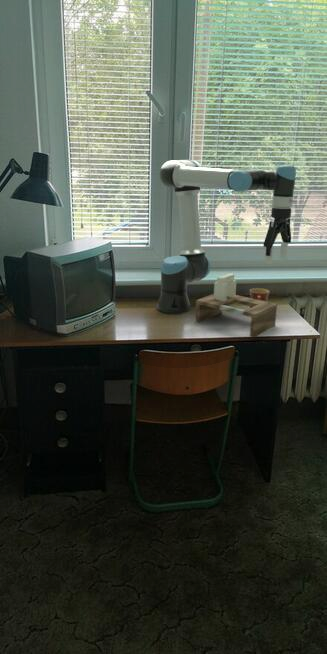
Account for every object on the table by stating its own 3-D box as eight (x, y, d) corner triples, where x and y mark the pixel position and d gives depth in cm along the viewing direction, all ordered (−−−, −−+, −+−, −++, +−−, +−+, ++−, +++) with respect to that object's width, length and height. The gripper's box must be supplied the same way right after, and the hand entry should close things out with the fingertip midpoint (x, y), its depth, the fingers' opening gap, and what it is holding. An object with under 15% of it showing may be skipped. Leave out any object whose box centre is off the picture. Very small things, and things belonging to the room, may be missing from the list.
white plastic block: (213, 299, 206) (214, 276, 203) (225, 294, 213) (226, 272, 210) (223, 301, 203) (225, 278, 200) (235, 296, 210) (236, 274, 207)
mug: (248, 309, 225) (250, 287, 221) (267, 310, 223) (269, 288, 219) (247, 317, 214) (249, 294, 210) (267, 318, 212) (269, 296, 208)
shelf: (195, 321, 207) (196, 300, 204) (218, 311, 220) (219, 291, 217) (253, 337, 191) (255, 314, 188) (275, 325, 204) (277, 303, 201)
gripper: (276, 211, 178) (270, 267, 186) (303, 205, 197) (297, 257, 204) (258, 209, 183) (252, 264, 190) (286, 203, 201) (280, 254, 209)
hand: (275, 261), depth 197 cm, fingers open, 13 cm apart
